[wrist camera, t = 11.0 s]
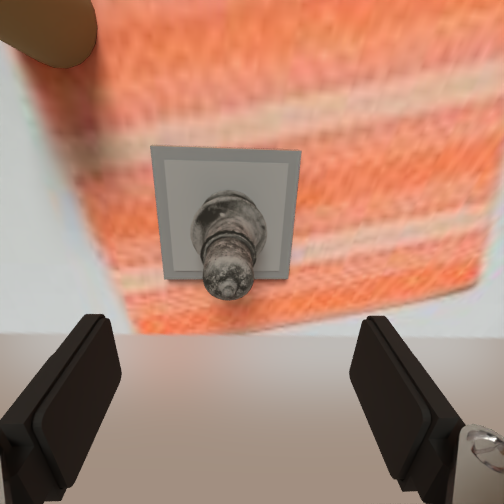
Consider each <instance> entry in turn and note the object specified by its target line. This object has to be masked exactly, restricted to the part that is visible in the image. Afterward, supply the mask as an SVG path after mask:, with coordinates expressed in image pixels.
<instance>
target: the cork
mask: <svg viewBox="0 0 504 504" xmlns="http://www.w3.org/2000/svg"><path fill="white" fill-rule="evenodd" d="M96 34H97V22H96V16H95V10H94V8H93V5H92V3H91V0H0V40H1V41H3V42H5V43H7V44H8V45H10V46H12V47H14V48H16V49H17V50H19V51H21V52H23V53H25V54H26V55H28V56H30V57H32V58H33V59H35V60H37V61H39V62H41V63H44V64H46V65H49V66H51V67H54V68H70V67H73V66H76V65H79V64H81V63H82V62H83V61H84V60H85V59H86V58H87V57H88V56H89V55H90V53H91V51H92V49H93V47H94V45H95V43H96Z"/></svg>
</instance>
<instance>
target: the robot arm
mask: <svg viewBox="0 0 504 504" xmlns="http://www.w3.org/2000/svg"><path fill="white" fill-rule="evenodd" d="M121 375H122V372H121V367H120V362H119V358H118V353H117V349H116V345H115V340H114V335H113V331H112V327H111V322H110V319H108V318H105V316H104V315H103V314H86V315H84V316H83V317H82V319H81V320H80V321H79V322H78V324H77V325H76V326H75V327H74V329H73V330H72V331H71V333H70V334H69V335H68V336H67V338H66V339H65V340H64V342H63V343H62V344H61V345H60V347H59V348H58V349H57V351H56V352H55V353H54V354H53V355H52V356H51V357H50V358H49V359H48V360H47V361H46V363H45V364H44V365H43V366H42V368H41V369H40V370H39V372H38V373H37V374H36V375H35V377H34V378H33V379H32V380H31V382H30V383H29V384H28V386H27V387H26V388H25V389H24V391H23V392H22V393H21V394H20V396H19V397H18V398H17V399H16V401H15V402H14V403H13V405H12V406H11V407H10V408H9V410H8V411H7V412H6V414H5V415H4V416H3V417H2V418H1V420H0V504H43V503H44V501H61V500H62V498H63V495H64V493H65V491H66V489H67V488H70V487H71V486H73V484H74V483H75V481H76V479H77V476H78V474H79V472H80V470H81V467H82V465H83V463H84V461H85V459H86V456H87V454H88V452H89V450H90V447H91V445H92V443H93V441H94V438H95V436H96V434H97V432H98V430H99V427H100V425H101V423H102V421H103V419H104V416H105V414H106V412H107V410H108V407H109V405H110V403H111V401H112V399H113V396H114V394H115V392H116V390H117V387H118V385H119V383H120V380H121ZM349 375H350V380H351V383H352V385H353V387H354V390H355V392H356V394H357V397H358V399H359V401H360V404H361V406H362V409H363V411H364V413H365V416H366V418H367V420H368V423H369V425H370V428H371V430H372V432H373V435H374V437H375V440H376V442H377V444H378V447H379V449H380V452H381V454H382V456H383V459H384V461H385V463H386V466H387V468H388V471H389V473H390V475H391V476H392V478H393V479H397V481H398V483H399V485H400V487H401V490H402V491H403V492H405V491H418V493H419V495H420V497H421V500H422V501H423V504H504V437H503V436H502V435H500V434H498V433H497V432H495V431H493V430H491V429H489V428H486V427H484V426H480V425H475V424H472V425H465V424H464V422H463V421H462V419H461V418H460V417H459V415H458V414H457V413H456V411H455V410H454V408H453V407H452V406H451V404H450V403H449V402H448V401H447V399H446V398H445V396H444V395H443V393H442V392H441V391H440V389H439V388H438V387H437V385H436V384H435V383H434V381H433V380H432V379H431V377H430V376H429V374H428V373H427V372H426V370H425V369H424V368H423V366H422V365H421V363H420V362H419V361H418V359H417V358H416V357H415V356H414V354H413V353H412V352H411V351H410V349H409V348H408V346H407V345H406V344H405V342H404V341H403V339H402V338H401V337H400V335H399V334H398V333H397V331H396V330H395V328H394V327H393V326H392V324H391V323H390V322H389V320H388V319H387V318H386V317H385V316H368V317H367V319H366V320H363V321H362V324H361V328H360V332H359V336H358V340H357V344H356V347H355V351H354V355H353V359H352V363H351V367H350V371H349Z"/></svg>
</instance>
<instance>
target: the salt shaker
mask: <svg viewBox="0 0 504 504" xmlns="http://www.w3.org/2000/svg"><path fill="white" fill-rule="evenodd" d="M190 236H191V240H192V244H193V246H194V248H195V250H196V252H197V253H198V254H199V255H200V258H201V262H202V264H203V266H204V269H203V282H204V286H205V288H206V289H207V291H208V292H209V293H210V294H211V295H212V296H214V297H216V298H218V299H222V300H236V299H239V298H241V297H243V296H244V295H246V294H247V293H248V292H249V291H250V289H251V287H252V285H253V282H254V271H253V267H254V265H255V263H256V259H257V256H258V255H259V254H260V253H261V251H262V250H263V248H264V245H265V243H266V239H267V227H266V222H265V220H264V218H263V215H262V214H261V212H260V211H259V210H258V209H257V207H256V205H255V204H254V202H253V201H252V200H251V199H250V198H249V197H248V196H246V195H245V194H244V193H241V192H238V191H235V190H224V191H219V192H217V193H214V194H212V195H211V196H210V197H209V198H208V199H206V201H205V202H204V204H203V205H202V207H201V208H199V210H198V211H197V213H196V214H195V216H194V218H193V221H192V224H191V231H190Z"/></svg>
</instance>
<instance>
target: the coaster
mask: <svg viewBox="0 0 504 504" xmlns="http://www.w3.org/2000/svg"><path fill="white" fill-rule="evenodd" d="M150 149H151V158H152V167H153V177H154V186H155V196H156V205H157V215H158V224H159V234H160V243H161V253H162V262H163V272H164V279H203V269H204V266H203V264H202V262H201V258H200V255H199V254H198V253H197V252H196V250H195V248H194V246H193V244H192V240H191V236H190V231H191V224H192V221H193V218H194V216H195V214H196V213H197V211H198V210H199V208H201V207H202V205H203V204H204V202H205V201H206V199H208V198H209V197H210V196H211V195H212V194H214V193H217V192H219V191H224V190H235V191H238V192H241V193H244V194H245V195H246V196H248V197H249V198H250V199H251V200H252V201H253V202H254V204H255V205H256V207H257V209H258V210H259V211H260V212H261V214H262V215H263V218H264V220H265V222H266V227H267V239H266V243H265V245H264V248H263V250H262V251H261V253H260V254H259V255H258V256H257V259H256V263H255V265H254V267H253V271H254V279H288V275H289V265H290V256H291V246H292V237H293V227H294V217H295V208H296V198H297V189H298V179H299V170H300V160H301V151H300V150H289V149H260V148H231V147H201V146H172V145H151V146H150Z"/></svg>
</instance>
